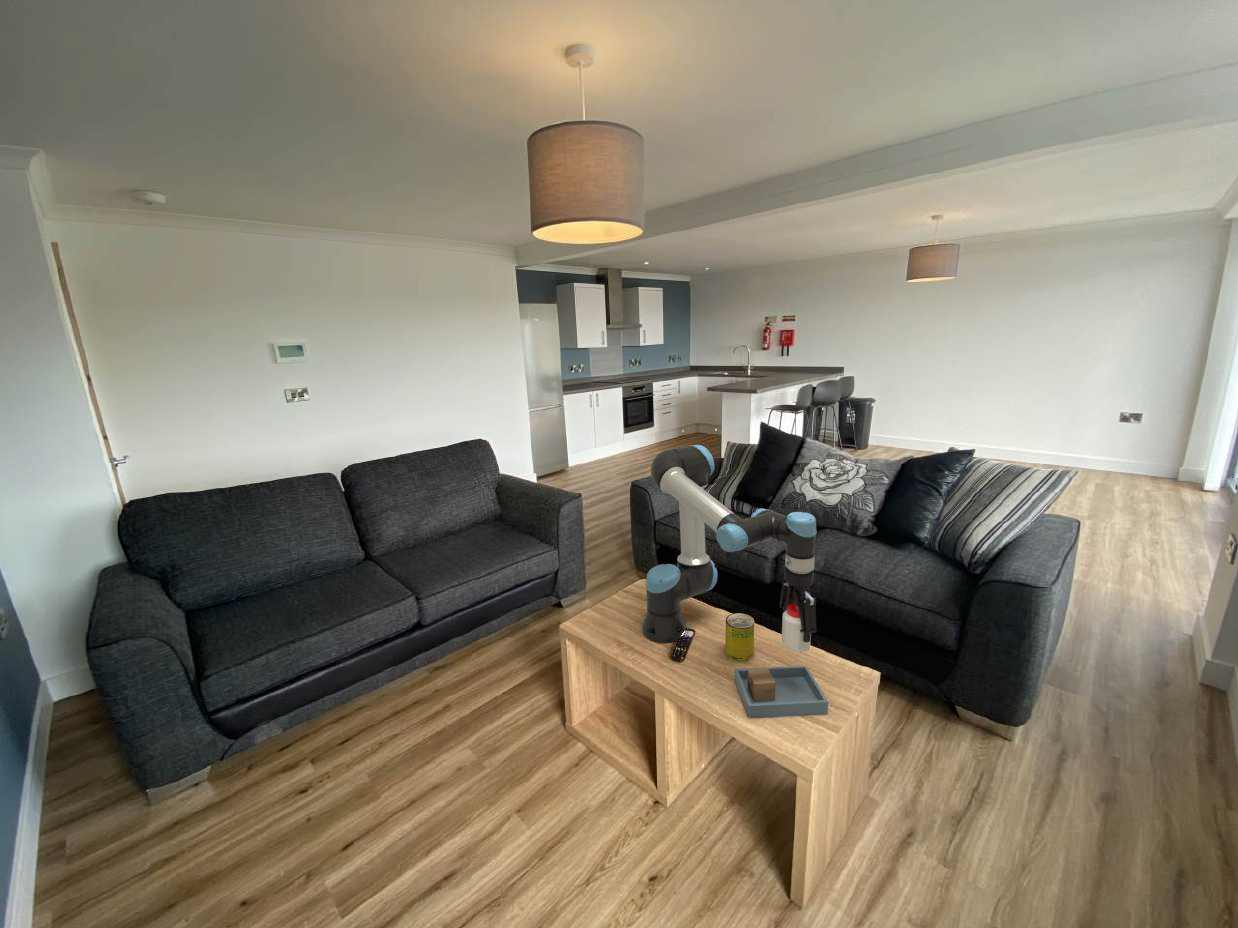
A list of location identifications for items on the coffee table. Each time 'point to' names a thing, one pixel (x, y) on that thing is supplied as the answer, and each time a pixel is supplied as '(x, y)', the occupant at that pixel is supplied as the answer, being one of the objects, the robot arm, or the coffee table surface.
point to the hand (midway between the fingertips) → (795, 641)
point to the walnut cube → (761, 685)
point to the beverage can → (739, 637)
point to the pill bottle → (791, 627)
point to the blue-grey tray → (784, 693)
